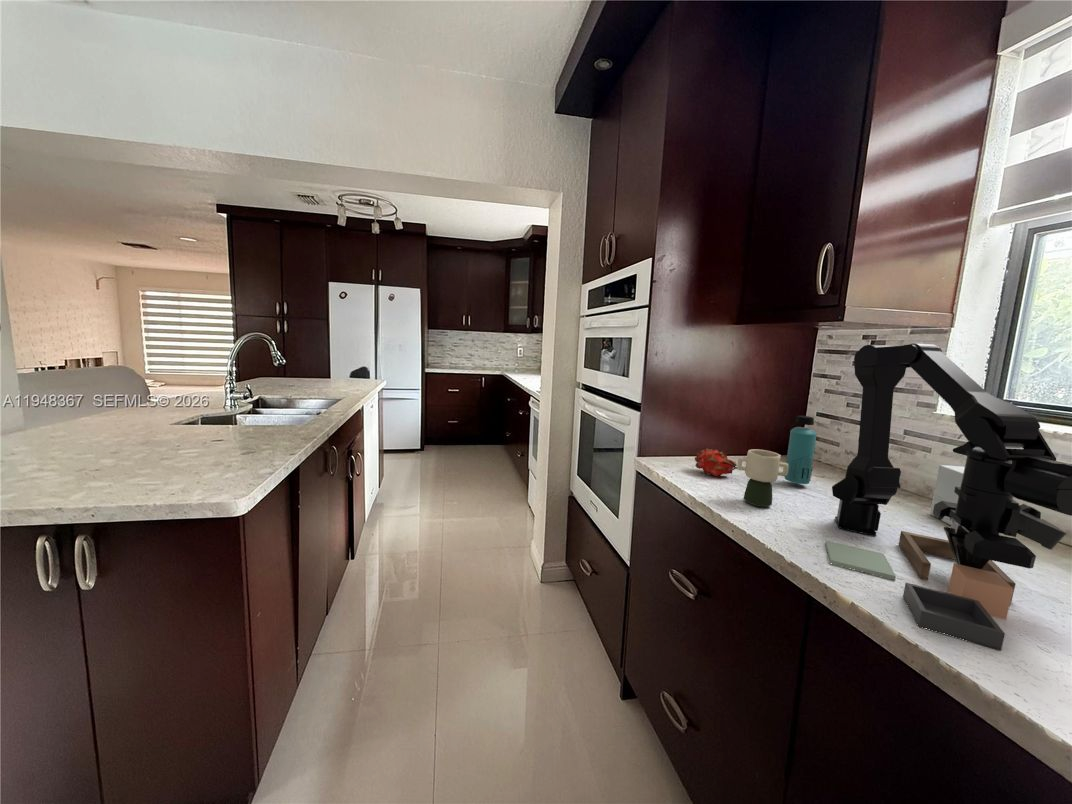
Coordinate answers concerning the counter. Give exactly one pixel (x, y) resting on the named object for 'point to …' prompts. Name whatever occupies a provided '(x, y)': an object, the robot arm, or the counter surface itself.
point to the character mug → (761, 475)
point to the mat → (859, 559)
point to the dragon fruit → (714, 463)
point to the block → (982, 589)
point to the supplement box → (947, 486)
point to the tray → (953, 616)
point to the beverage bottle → (801, 452)
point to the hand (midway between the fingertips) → (966, 579)
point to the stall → (918, 544)
